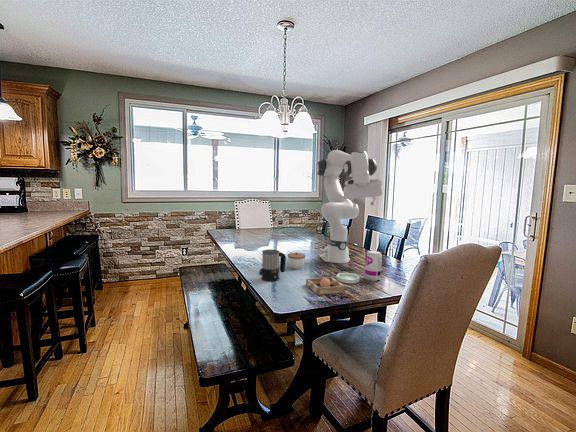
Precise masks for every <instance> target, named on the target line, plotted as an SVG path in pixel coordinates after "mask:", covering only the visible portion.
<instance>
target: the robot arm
mask: <svg viewBox="0 0 576 432" xmlns="http://www.w3.org/2000/svg"><path fill="white" fill-rule="evenodd" d="M377 168H378V164H377V162H376V160H375V159H374V158H372V157H368V154H367V152H366V150H355V151H352V152H351V154H349V153H347V152H344V151H342V150H339V149H334V150H331V151H329V153H328V154H327V158H326V159H325V158H322V159H321V160H319V161H318V162H316V164H315V172H316V174H317V175H318V176H321V177H324V176H325V178H324V180H323V185H324V191H325V195H326V198H327V200H328V201H329V202H326V203H323V204H322V206H321V209H320V213H321V215H322V217H323V218H325V220H326V222H327V223H328V225H329V228H330V229H329V230H330V234H329V235H330V237H329V239H328V244H327V245H326V246H325V247H323V249H322V254H319V257H320V258H321V260H323V261H324V262H326V263H328V262H329V263H333V264H334V263H335V264H346V263H349V261H351V258H350V256H349V255H350V254H349V253H350V250H349V247H348V244H349V241H348V232H349V230H348V227H347V226H346V225H344V224H342V222H341V220H351V219H352V220H353V219H355V218H357V217H358V216H359V213H360V208H359V205H358V204H357V203H355V202H354V199H362V198H371V197H372V198H371V199H372V201H371V202H370V206H375V201H376V198H377V197H381V196H382V195H383V190H382V189H383V188H382V181H381V180H380V179H379V178H375V179H370V176H371V177H372V176H373V175H374V174H375V173H376V171H377ZM344 175H346V176H347V177H350V179H348V180H345V182H344V185H345V186H344V187H343V189H342V186H341V184H340V181H339V178H340V179H342V178H343V176H344Z"/></svg>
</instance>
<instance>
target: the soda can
mask: <svg viewBox="0 0 576 432" xmlns="http://www.w3.org/2000/svg"><path fill="white" fill-rule="evenodd" d="M382 259H383V255H382V252H381V251H378V250H367V252H366V254H365V264H364V266H365V268H364V279H365V280H367V281H369V280H371V281H370V282H378V281H377V280H379V281H380V280H381V273H382Z"/></svg>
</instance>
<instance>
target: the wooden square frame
mask: <svg viewBox="0 0 576 432" xmlns="http://www.w3.org/2000/svg"><path fill="white" fill-rule="evenodd" d="M323 278H327V279H329V281H330V285H331V286H330V287H323V288H322V287H319V286H317V285H320V281H321V280H322V279H323ZM305 285H306V286H307V287H308V288H309V289H311V290H312V292H314V293H315V294H316V295H318V296H319V295H321V296H322V295H329V294H330V295H333V294H340V293H341V294H342V293H346V285H344V283H342V282H340V281H338V280H337V279H336V278H333V277H332V276H326V277H315V278H314V277H313V278H306V281H305Z"/></svg>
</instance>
